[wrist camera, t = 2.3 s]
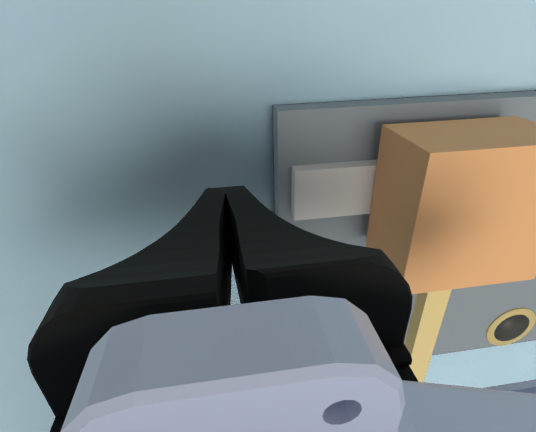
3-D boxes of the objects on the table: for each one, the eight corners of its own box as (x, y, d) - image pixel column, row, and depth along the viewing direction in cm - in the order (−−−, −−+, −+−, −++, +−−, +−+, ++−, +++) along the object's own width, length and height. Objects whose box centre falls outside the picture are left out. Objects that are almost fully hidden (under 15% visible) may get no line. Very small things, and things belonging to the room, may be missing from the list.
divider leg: (348, 364, 18) (372, 424, 15) (380, 123, 12) (430, 153, 9) (437, 350, 19) (476, 406, 16) (512, 115, 13) (596, 140, 10)
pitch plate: (277, 361, 19) (285, 404, 17) (272, 105, 13) (285, 122, 10) (592, 317, 22) (634, 350, 20) (733, 79, 15) (822, 89, 13)
